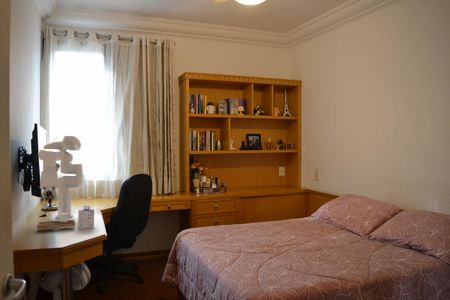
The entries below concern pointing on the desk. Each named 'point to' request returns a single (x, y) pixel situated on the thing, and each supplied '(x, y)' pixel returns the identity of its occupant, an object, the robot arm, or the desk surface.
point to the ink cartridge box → (86, 218)
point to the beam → (55, 224)
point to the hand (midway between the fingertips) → (48, 197)
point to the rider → (63, 217)
